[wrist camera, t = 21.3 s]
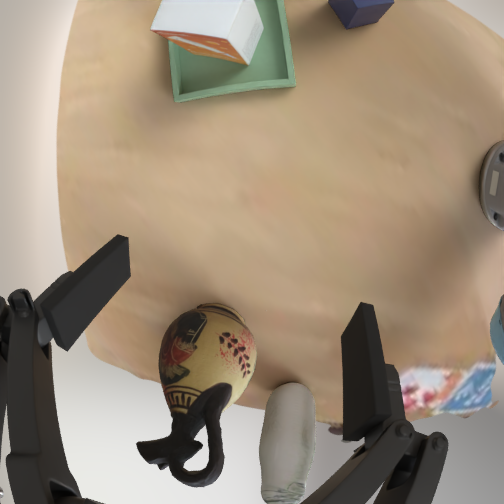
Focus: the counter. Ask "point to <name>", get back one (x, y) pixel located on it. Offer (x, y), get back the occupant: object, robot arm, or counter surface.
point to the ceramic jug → (200, 386)
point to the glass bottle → (287, 444)
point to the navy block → (359, 11)
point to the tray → (235, 74)
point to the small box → (211, 27)
